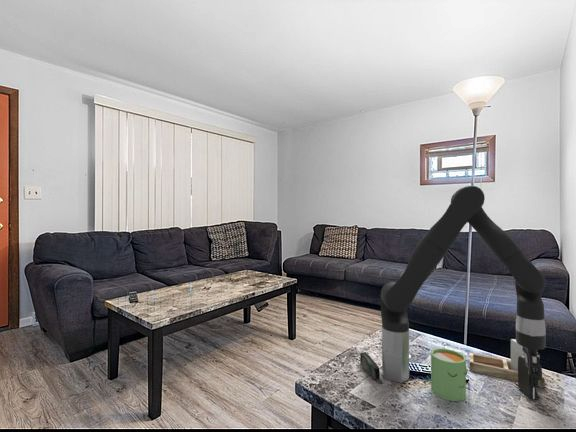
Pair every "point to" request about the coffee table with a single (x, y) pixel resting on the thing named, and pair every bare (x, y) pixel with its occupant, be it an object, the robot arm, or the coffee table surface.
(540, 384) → the slot organizer
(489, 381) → the coffee table surface
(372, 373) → the mobile phone
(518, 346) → the skincare box
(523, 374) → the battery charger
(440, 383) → the mug
